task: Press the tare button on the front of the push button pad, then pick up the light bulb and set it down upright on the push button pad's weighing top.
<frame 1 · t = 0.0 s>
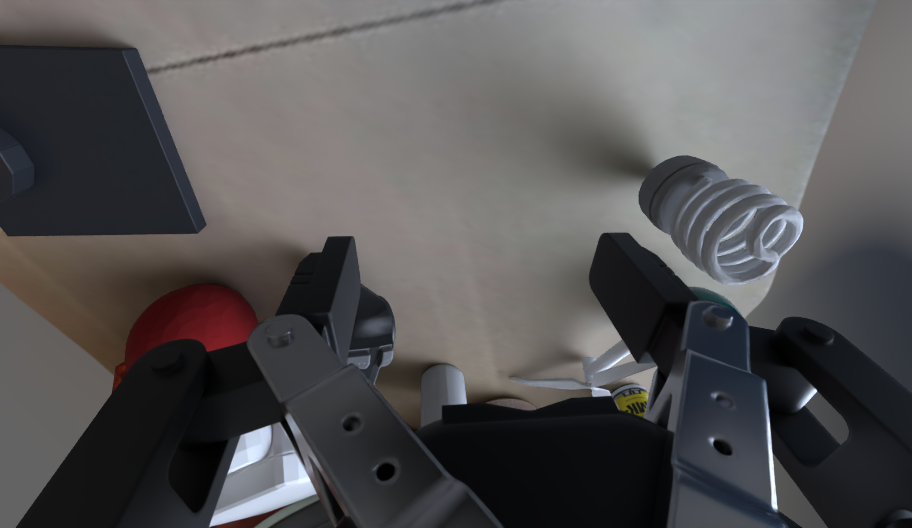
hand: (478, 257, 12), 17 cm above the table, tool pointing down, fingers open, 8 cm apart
apple: (222, 306, 34), on the table
light bulb: (652, 174, 30), on the table
sphere: (667, 300, 38), on the table
planter: (498, 419, 48), on the table
game controller: (343, 323, 36), on the table
boat shoe 2: (324, 506, 44), point 6 cm above the table, touching egg carton, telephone
wind turbine: (687, 298, 29), point 7 cm above the table
push button pad: (74, 147, 25), on the table
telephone: (276, 505, 34), point 10 cm above the table, touching boat shoe 2, egg carton
supplement bottle: (625, 393, 47), on the table
beverage can: (441, 374, 42), on the table
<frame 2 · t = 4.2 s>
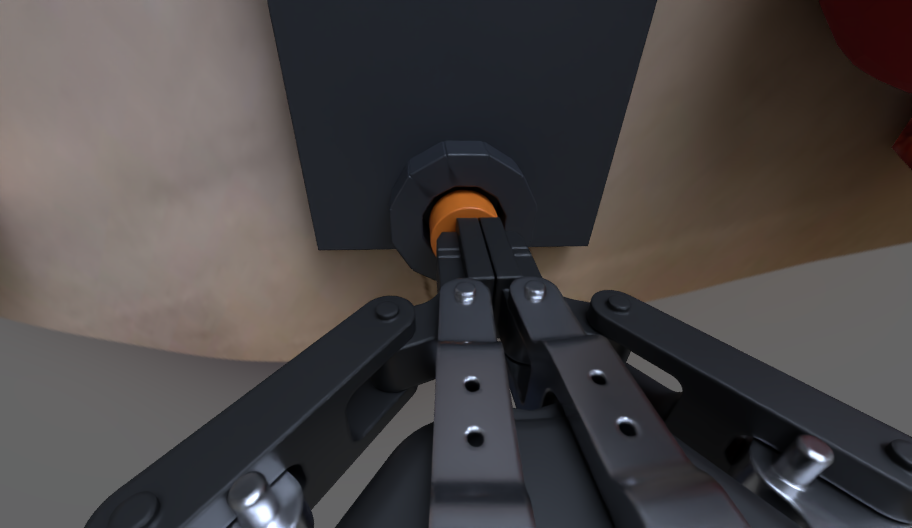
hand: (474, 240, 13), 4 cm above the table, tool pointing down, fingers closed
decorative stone: (908, 116, 16), on the table
tare button: (464, 230, 14), point 3 cm above the table, slide at 0.0 cm, touching gripper
push button pad: (461, 81, 14), on the table
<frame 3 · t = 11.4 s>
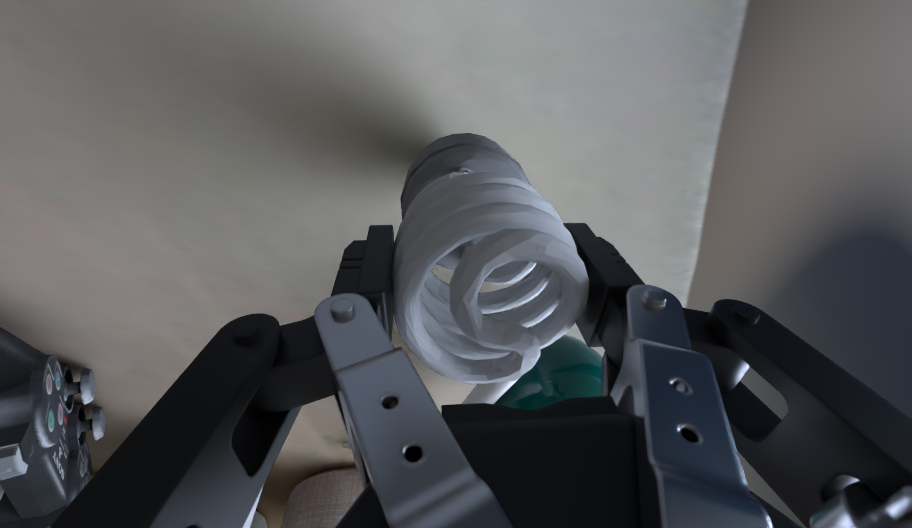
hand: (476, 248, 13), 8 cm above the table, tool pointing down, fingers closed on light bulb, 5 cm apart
light bulb: (456, 167, 19), on the table, touching gripper
sphere: (535, 347, 27), on the table
planter: (349, 490, 36), on the table
game controller: (57, 384, 25), on the table
wind turbine: (502, 367, 18), point 7 cm above the table
when the fingers open (9 cm above the table, at t = 21.7 s): light bulb stays where it is, resting on push button pad.
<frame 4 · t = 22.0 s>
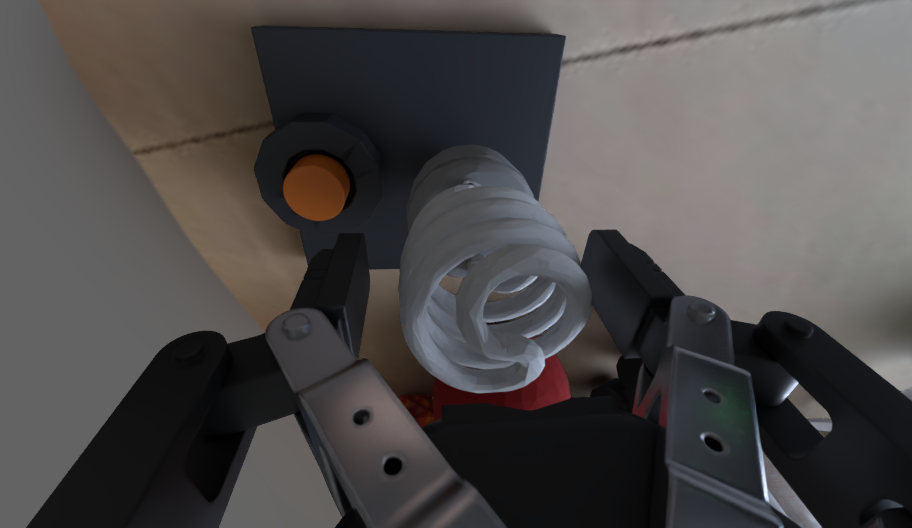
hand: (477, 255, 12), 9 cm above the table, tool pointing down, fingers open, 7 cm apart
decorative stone: (414, 393, 31), on the table
apple: (490, 345, 28), on the table
light bulb: (460, 176, 19), point 1 cm above the table, touching push button pad
tare button: (318, 187, 17), point 3 cm above the table, slide at 0.1 cm
planter: (713, 459, 42), on the table
game controller: (610, 362, 31), on the table
push button pad: (418, 161, 20), on the table
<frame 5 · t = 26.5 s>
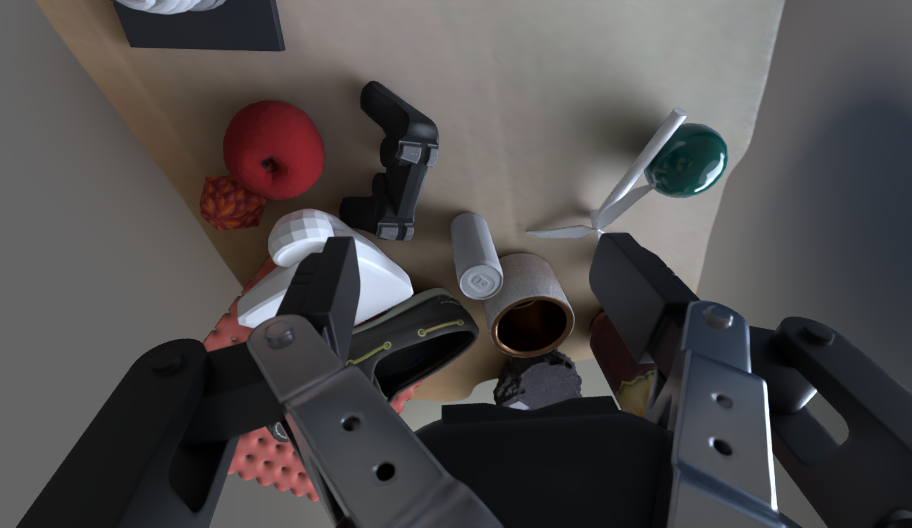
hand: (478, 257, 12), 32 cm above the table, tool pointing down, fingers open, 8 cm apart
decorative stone: (247, 187, 43), on the table
apple: (289, 138, 40), on the table
vase: (615, 322, 61), on the table
sphere: (662, 149, 45), on the table
egg carton: (308, 381, 52), point 7 cm above the table, touching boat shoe, boat shoe 2, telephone
planter: (515, 281, 54), on the table
game controller: (388, 162, 43), on the table
rock sample: (534, 374, 67), on the table
boat shoe 2: (364, 348, 51), point 6 cm above the table, touching egg carton, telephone
wind turbine: (678, 109, 36), point 7 cm above the table
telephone: (333, 309, 41), point 10 cm above the table, touching boat shoe 2, egg carton
beverage can: (468, 226, 48), on the table
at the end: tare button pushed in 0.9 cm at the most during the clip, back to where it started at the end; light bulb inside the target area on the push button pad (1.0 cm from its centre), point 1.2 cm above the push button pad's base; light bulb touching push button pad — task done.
